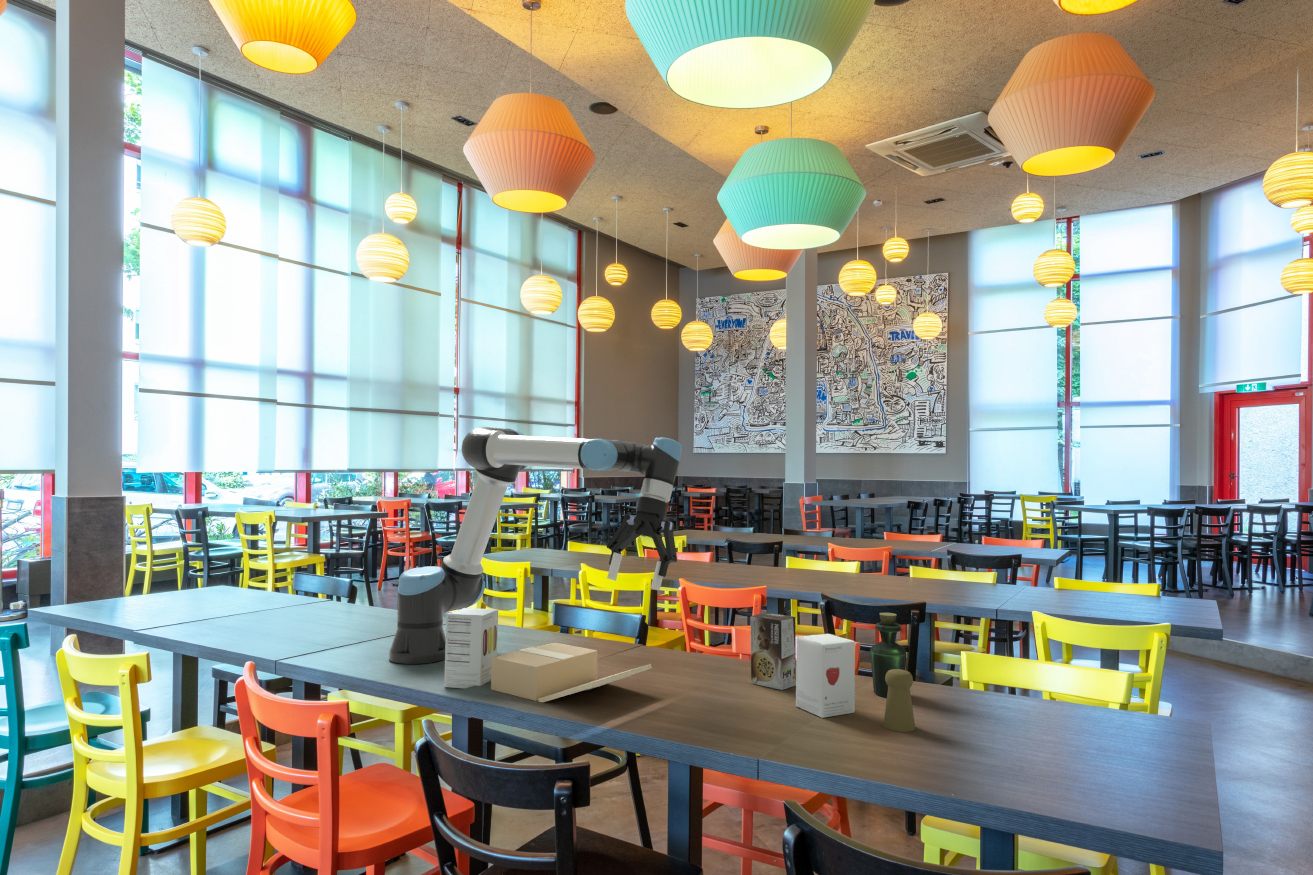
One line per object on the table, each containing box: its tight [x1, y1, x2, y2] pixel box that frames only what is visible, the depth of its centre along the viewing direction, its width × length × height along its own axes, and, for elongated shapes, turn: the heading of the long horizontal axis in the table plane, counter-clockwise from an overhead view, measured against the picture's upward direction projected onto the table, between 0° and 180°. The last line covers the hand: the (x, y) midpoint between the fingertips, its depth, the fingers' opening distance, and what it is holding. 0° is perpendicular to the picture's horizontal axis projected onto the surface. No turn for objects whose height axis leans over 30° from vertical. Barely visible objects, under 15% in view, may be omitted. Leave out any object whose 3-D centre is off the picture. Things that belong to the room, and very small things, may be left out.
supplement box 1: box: [443, 607, 499, 689], centre depth 178 cm, size 10×9×17 cm
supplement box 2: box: [795, 633, 856, 719], centre depth 161 cm, size 9×9×15 cm
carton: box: [490, 642, 599, 702], centre depth 174 cm, size 14×20×8 cm
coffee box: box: [750, 612, 797, 691], centre depth 180 cm, size 9×6×16 cm
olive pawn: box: [883, 669, 916, 733], centre depth 150 cm, size 6×6×11 cm
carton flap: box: [537, 663, 653, 704], centre depth 165 cm, size 1×20×16 cm
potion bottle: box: [869, 612, 908, 698], centre depth 173 cm, size 8×8×18 cm
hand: (632, 584), depth 183 cm, fingers open, 13 cm apart
